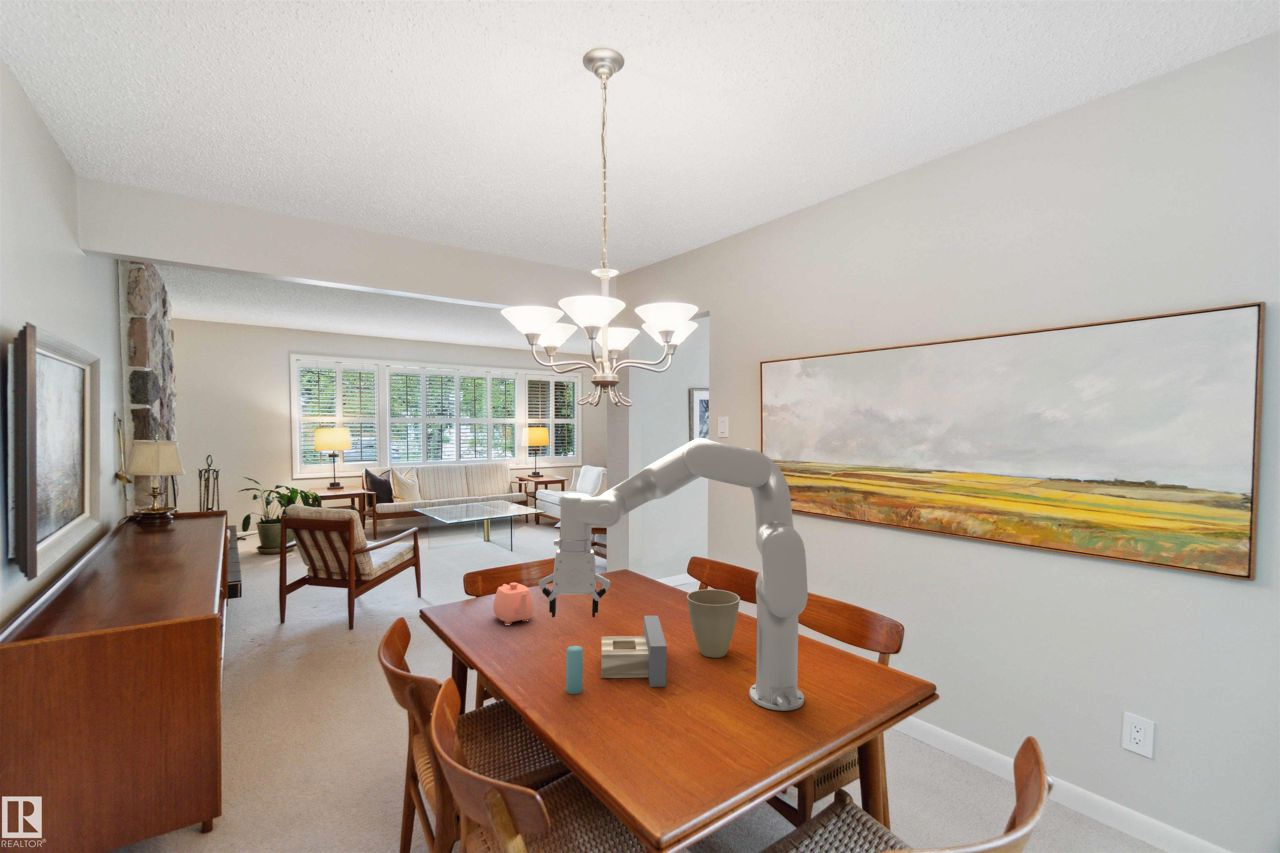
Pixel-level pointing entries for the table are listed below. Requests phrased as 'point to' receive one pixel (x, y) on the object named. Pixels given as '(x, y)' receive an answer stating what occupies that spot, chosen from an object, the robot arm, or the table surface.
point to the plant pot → (713, 619)
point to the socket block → (624, 657)
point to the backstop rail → (655, 651)
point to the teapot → (513, 603)
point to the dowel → (574, 669)
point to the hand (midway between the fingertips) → (573, 615)
